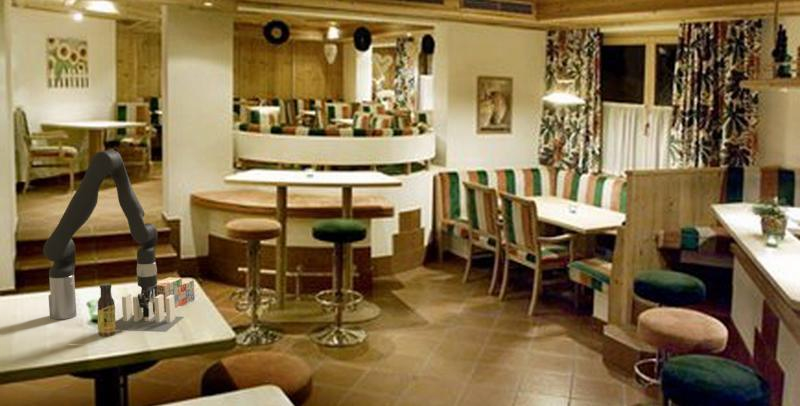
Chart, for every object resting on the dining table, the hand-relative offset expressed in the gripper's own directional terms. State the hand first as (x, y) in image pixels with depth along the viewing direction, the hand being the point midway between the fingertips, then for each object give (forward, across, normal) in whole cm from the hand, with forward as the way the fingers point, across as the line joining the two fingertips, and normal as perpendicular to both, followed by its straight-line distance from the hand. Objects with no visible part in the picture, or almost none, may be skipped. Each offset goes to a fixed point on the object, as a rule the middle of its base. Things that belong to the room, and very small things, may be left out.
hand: (149, 314), depth 306 cm
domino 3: (+2, 0, 0) cm, 2 cm away
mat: (+3, +4, 0) cm, 5 cm away
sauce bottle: (+3, +18, -8) cm, 20 cm away
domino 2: (+2, 0, -4) cm, 5 cm away
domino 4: (+2, 0, +4) cm, 5 cm away
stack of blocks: (+3, -21, +2) cm, 22 cm away
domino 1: (+2, 0, -9) cm, 9 cm away
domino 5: (+2, 0, +9) cm, 9 cm away
